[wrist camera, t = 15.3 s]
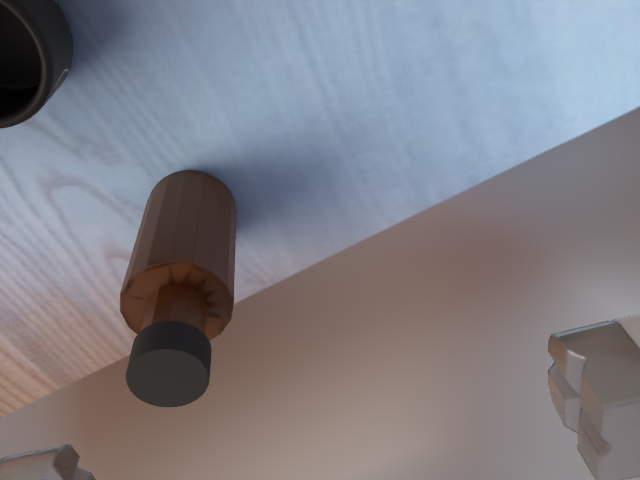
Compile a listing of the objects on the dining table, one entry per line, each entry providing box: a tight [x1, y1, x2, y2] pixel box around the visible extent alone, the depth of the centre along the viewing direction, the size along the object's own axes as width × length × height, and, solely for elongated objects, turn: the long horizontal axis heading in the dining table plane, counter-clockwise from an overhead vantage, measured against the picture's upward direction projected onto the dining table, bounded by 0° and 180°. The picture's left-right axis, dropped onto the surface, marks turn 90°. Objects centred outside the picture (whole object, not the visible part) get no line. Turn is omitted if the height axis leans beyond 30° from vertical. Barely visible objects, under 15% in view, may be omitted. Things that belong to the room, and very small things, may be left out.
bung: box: [126, 321, 211, 407], centre depth 35 cm, size 5×5×4 cm
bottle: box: [120, 171, 236, 341], centre depth 42 cm, size 7×7×17 cm
